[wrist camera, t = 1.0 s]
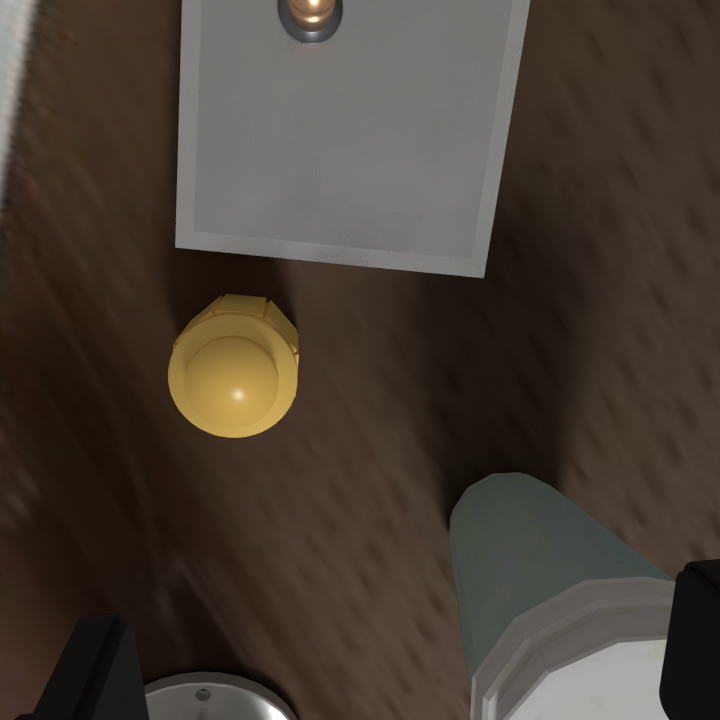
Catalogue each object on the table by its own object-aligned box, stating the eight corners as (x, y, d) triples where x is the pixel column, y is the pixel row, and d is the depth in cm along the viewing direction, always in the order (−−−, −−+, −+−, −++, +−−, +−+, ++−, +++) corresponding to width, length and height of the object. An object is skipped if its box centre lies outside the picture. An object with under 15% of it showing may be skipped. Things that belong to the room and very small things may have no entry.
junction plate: (468, 270, 30) (509, 290, 25) (185, 242, 28) (157, 256, 23) (527, -96, 26) (593, -176, 20) (198, -158, 24) (168, -264, 18)
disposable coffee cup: (550, 608, 37) (714, 877, 22) (384, 582, 35) (446, 856, 21) (611, 453, 34) (840, 646, 20) (434, 416, 32) (546, 600, 18)
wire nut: (292, 402, 31) (291, 449, 26) (186, 395, 31) (162, 442, 25) (301, 300, 30) (302, 327, 24) (190, 290, 29) (165, 315, 23)
